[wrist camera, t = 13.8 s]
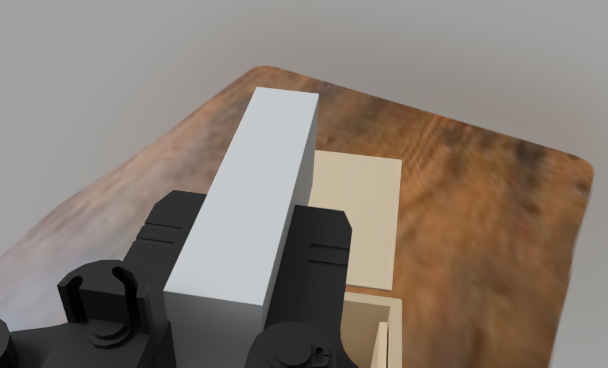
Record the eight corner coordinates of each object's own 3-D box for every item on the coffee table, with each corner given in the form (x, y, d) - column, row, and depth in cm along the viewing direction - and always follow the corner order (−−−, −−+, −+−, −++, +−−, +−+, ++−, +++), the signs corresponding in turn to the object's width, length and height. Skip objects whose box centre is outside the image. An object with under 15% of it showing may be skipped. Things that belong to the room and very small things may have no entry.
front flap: (391, 289, 31) (390, 291, 32) (401, 160, 34) (400, 163, 35) (250, 271, 32) (251, 273, 32) (274, 145, 35) (274, 148, 35)
